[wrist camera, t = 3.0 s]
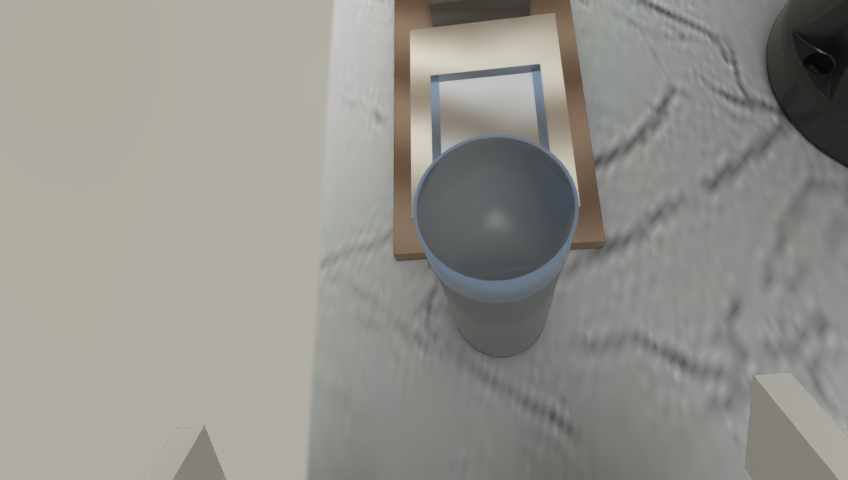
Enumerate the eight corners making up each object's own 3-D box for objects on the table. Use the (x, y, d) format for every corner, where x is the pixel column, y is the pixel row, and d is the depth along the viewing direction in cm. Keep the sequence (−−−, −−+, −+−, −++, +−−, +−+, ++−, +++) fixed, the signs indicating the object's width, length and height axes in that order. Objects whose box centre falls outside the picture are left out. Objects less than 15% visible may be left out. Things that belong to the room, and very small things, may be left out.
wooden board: (397, -36, 38) (389, -75, 35) (557, -58, 37) (562, -100, 34) (397, 260, 30) (386, 241, 27) (602, 247, 29) (611, 225, 26)
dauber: (488, 259, 29) (472, 110, 16) (563, 306, 28) (610, 181, 15) (439, 329, 28) (381, 228, 15) (514, 381, 27) (519, 317, 14)
